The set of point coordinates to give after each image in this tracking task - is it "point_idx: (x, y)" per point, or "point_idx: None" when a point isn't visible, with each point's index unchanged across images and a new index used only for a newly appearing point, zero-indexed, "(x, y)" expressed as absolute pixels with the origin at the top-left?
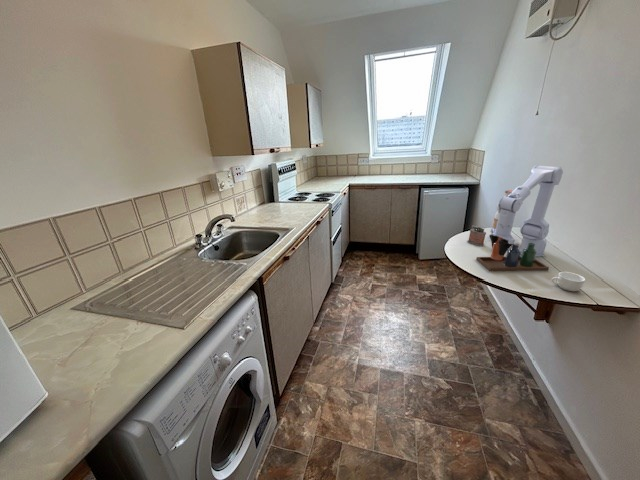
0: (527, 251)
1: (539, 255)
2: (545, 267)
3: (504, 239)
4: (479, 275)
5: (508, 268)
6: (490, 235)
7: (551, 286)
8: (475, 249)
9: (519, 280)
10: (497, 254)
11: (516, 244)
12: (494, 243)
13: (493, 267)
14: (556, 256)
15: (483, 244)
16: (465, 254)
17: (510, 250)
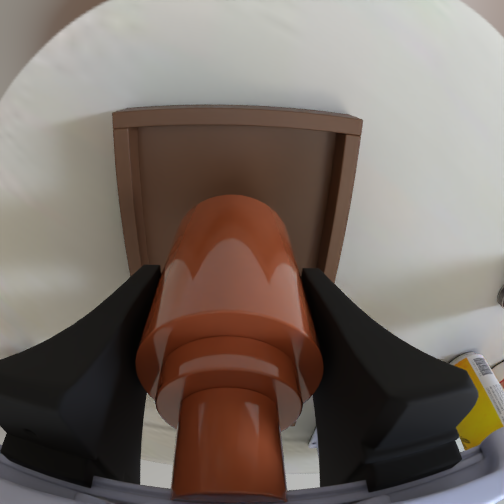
0: None
1: (314, 440)
2: None
3: (72, 480)
4: (86, 21)
5: (129, 262)
6: (448, 397)
7: (36, 342)
8: (490, 234)
9: (46, 252)
10: (171, 253)
11: None
12: (266, 329)
13: (189, 179)
14: (300, 461)
15: (501, 304)
16: (460, 113)
17: None
